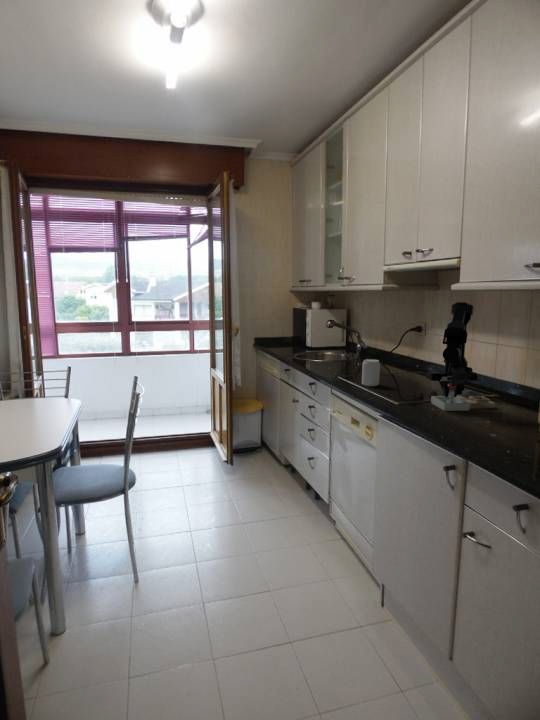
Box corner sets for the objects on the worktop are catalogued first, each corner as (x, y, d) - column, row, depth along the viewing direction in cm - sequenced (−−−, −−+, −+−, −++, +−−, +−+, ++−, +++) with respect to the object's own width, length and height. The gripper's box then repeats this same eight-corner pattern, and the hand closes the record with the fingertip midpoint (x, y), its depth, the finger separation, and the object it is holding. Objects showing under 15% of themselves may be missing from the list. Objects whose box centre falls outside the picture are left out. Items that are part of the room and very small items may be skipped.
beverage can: (371, 382, 222) (372, 358, 220) (382, 385, 215) (383, 361, 213) (358, 384, 218) (359, 359, 216) (368, 387, 211) (370, 362, 209)
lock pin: (443, 403, 180) (444, 383, 179) (452, 403, 180) (453, 383, 179) (447, 405, 176) (448, 385, 175) (456, 405, 177) (458, 385, 175)
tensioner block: (453, 399, 190) (454, 388, 189) (476, 399, 191) (477, 388, 190) (470, 408, 176) (471, 397, 175) (494, 408, 177) (495, 396, 176)
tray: (430, 402, 184) (431, 396, 184) (454, 402, 185) (455, 395, 184) (444, 410, 172) (444, 403, 172) (469, 410, 173) (469, 403, 173)
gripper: (439, 361, 167) (436, 402, 169) (487, 361, 168) (483, 402, 171) (426, 357, 178) (424, 395, 180) (472, 357, 179) (469, 395, 182)
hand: (450, 397), depth 178 cm, fingers open, 3 cm apart
